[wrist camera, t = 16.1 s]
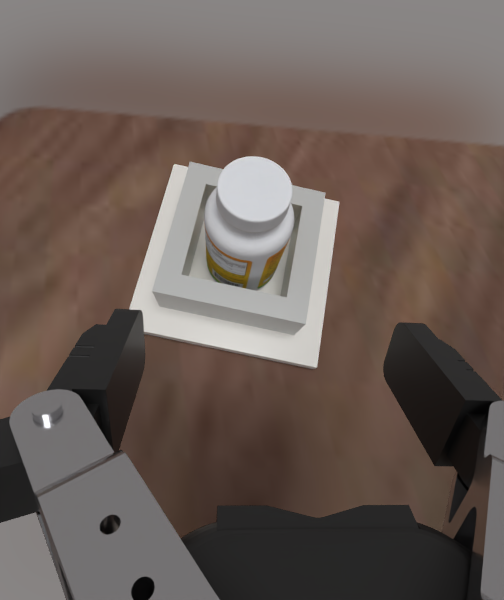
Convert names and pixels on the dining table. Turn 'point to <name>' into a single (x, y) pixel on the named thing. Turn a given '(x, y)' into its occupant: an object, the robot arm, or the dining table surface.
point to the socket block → (230, 299)
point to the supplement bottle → (248, 222)
